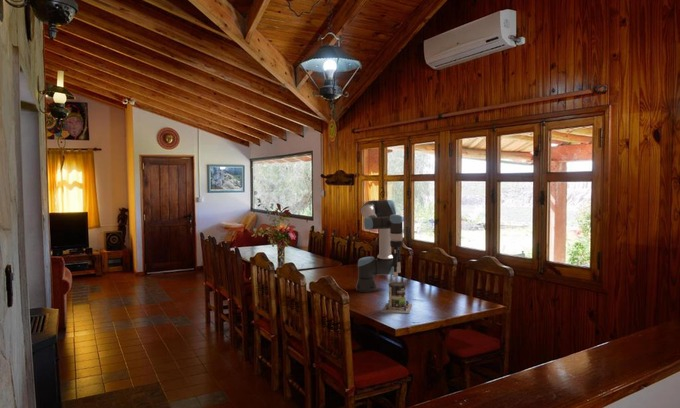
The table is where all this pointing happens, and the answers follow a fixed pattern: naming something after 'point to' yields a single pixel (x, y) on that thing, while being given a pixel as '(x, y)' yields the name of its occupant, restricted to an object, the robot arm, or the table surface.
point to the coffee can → (397, 295)
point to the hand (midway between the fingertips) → (396, 274)
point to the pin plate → (391, 310)
